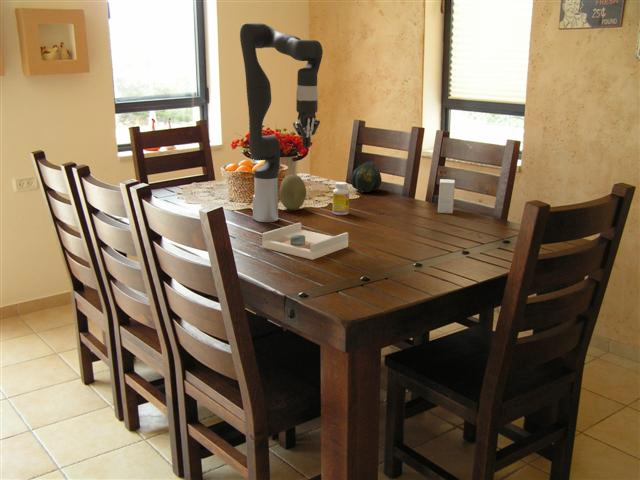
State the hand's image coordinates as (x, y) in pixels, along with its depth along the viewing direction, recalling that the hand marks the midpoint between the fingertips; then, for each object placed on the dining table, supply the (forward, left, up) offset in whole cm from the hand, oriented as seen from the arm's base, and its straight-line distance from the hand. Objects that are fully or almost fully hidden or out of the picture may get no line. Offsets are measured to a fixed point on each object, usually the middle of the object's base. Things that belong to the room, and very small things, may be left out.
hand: (306, 147), depth 257 cm
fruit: (-28, +26, -32) cm, 50 cm away
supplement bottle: (-8, +33, -32) cm, 47 cm away
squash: (-26, +78, -32) cm, 88 cm away
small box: (+23, +66, -32) cm, 77 cm away
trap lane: (+12, -15, -32) cm, 37 cm away
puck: (+13, -20, -29) cm, 38 cm away
